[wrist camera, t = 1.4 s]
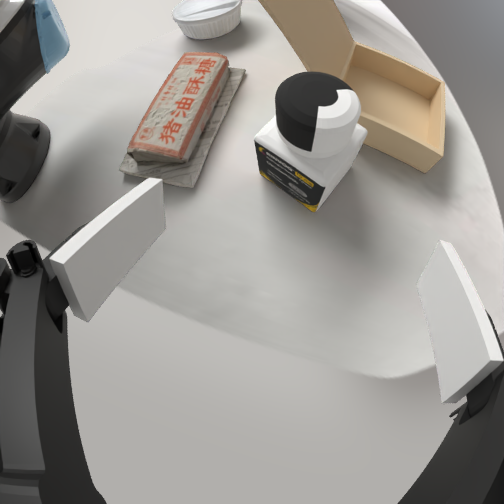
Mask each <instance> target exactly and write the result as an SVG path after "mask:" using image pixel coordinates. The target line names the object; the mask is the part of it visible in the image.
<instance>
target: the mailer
mask: <svg viewBox="0 0 504 504" xmlns="http://www.w3.org/2000/svg"><path fill="white" fill-rule="evenodd" d="M258 1H259V2H260V3H261V4H262V6H263V7H264V8H265V10H266V11H267V12H268V14H269V15H270V16H271V18H272V19H273V20H274V22H275V23H276V24H277V26H278V27H279V29H280V30H281V31H282V33H283V34H284V36H285V37H286V39H287V40H288V42H289V43H290V45H291V46H292V48H293V49H294V51H295V52H296V54H297V55H298V57H299V58H300V60H301V62H302V63H303V65H304V66H305V68H306V70H307V71H308V72H311V71H314V72H323V73H327V74H330V75H333V76H335V77H337V78H339V79H341V80H343V81H344V82H345V83H347V84H348V85H349V86H350V87H351V88H352V89H353V91H354V92H355V93H356V95H357V96H358V98H359V101H360V105H361V114H360V117H359V119H358V122H357V123H358V124H359V125H361V126H362V127H364V128H365V129H366V130H367V132H368V133H367V136H366V138H365V140H364V142H363V144H366V145H368V146H370V147H372V148H375V149H377V150H379V151H381V152H383V153H386V154H388V155H390V156H392V157H394V158H396V159H398V160H400V161H402V162H404V163H406V164H408V165H410V166H412V167H414V168H416V169H418V170H419V171H421V172H423V173H426V172H427V171H429V170H430V169H431V168H432V167H433V166H434V165H435V164H436V163H437V162H438V161H439V160H440V159H441V158H442V157H443V152H444V137H445V82H443V81H441V80H439V79H438V78H436V77H434V76H432V75H430V74H428V73H427V72H425V71H423V70H421V69H419V68H417V67H415V66H413V65H411V64H409V63H407V62H404V61H402V60H400V59H398V58H396V57H393V56H391V55H389V54H386V53H384V52H381V51H379V50H376V49H374V48H371V47H369V46H366V45H363V44H360V43H357V42H355V41H354V40H353V38H352V36H351V34H350V32H349V30H348V28H347V26H346V24H345V22H344V20H343V18H342V16H341V14H340V12H339V10H338V8H337V6H336V5H335V3H334V1H333V0H258Z"/></svg>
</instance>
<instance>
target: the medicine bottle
mask: <svg viewBox="0 0 504 504" xmlns="http://www.w3.org/2000/svg"><path fill="white" fill-rule="evenodd" d="M275 104H276V115H275V116H274V117H273V118H272V119H271V120H270V121H269V122H268V123H267V124H266V125H265V126H264V127H263V128H262V129H261V130H260V131H259V132H258V133H257V134H256V135H255V137H254V141H255V147H256V153H257V160H258V166H259V172H260V174H261V175H262V176H264V177H265V178H267V179H268V180H269V181H271V182H272V183H274V184H275V185H276V186H278V187H279V188H281V189H282V190H283V191H285V192H286V193H288V194H289V195H290V196H292V197H293V198H294V199H296V200H297V201H298V202H300V203H301V204H302V205H304V206H305V207H307V208H308V209H309V210H310V211H312V212H316V211H317V210H318V209H319V208H320V206H321V205H322V204H323V203H324V201H325V200H326V199H327V197H328V196H329V195H330V194H331V192H332V191H333V190H334V188H335V187H336V186H337V184H338V183H339V182H340V181H341V179H342V178H343V177H344V175H345V174H346V173H347V171H348V170H349V169H350V168H351V166H352V164H353V162H354V160H355V158H356V156H357V154H358V152H359V150H360V148H361V146H362V144H363V142H364V140H365V138H366V136H367V133H368V132H367V130H366V129H365V128H364V127H362V126H361V125H359V124H358V123H357V122H358V119H359V117H360V114H361V105H360V101H359V98H358V96H357V95H356V93H355V92H354V91H353V89H352V88H351V87H350V86H349V85H348V84H347V83H345V82H344V81H343V80H341V79H339V78H337V77H335V76H333V75H330V74H327V73H323V72H314V71H311V72H302V73H298V74H295V75H293V76H291V77H289V78H287V79H286V80H285V81H283V82H282V83H281V85H280V86H279V87H278V89H277V92H276V96H275Z"/></svg>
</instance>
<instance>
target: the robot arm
mask: <svg viewBox="0 0 504 504" xmlns="http://www.w3.org/2000/svg"><path fill="white" fill-rule="evenodd" d="M69 47H70V44H69V39H68V36H67V33H66V30H65V28H64V25H63V23H62V20H61V18H60V16H59V14H58V12H57V9H56V7H55V5H54V4H53V2H52V0H0V200H2V201H5V202H7V203H11V202H14V201H16V200H17V199H19V198H20V197H21V196H22V195H23V194H24V193H25V192H26V190H27V189H28V188H29V187H30V185H31V184H32V182H33V181H34V179H35V177H36V176H37V174H38V172H39V170H40V168H41V166H42V164H43V161H44V159H45V156H46V153H47V150H48V146H49V141H50V132H49V129H48V127H47V126H46V125H45V124H44V123H42V122H41V121H40V120H38V119H35V118H31V117H27V116H23V115H19V114H14V113H12V112H11V111H10V108H11V107H12V106H13V105H14V104H15V103H16V102H17V101H18V100H19V99H20V98H21V97H22V96H23V94H24V93H26V91H28V90H29V89H30V88H31V87H32V86H33V85H34V84H35V83H36V82H37V81H38V80H39V79H40V78H41V77H42V76H43V75H45V74H46V73H47V74H48V73H49V72H50V70H51V68H53V67H54V66H55V65H56V64H57V63H58V62H59V61H61V60H62V59H63V58H64V57H65V56H66V54H67V53H68V51H69ZM165 229H166V225H165V212H164V196H163V179H156V178H148V179H146V180H145V181H144V182H142V183H141V184H139V185H138V186H136V187H135V188H134V189H132V190H131V191H130V192H128V193H127V194H125V195H124V196H123V197H121V198H120V199H119V200H117V201H116V202H115V203H114V204H112V205H111V206H110V207H108V208H107V209H106V210H105V211H103V212H102V213H101V214H99V215H98V216H97V217H96V218H95V219H93V220H92V221H91V222H89V223H87V224H85V225H83V226H81V227H79V228H78V229H77V230H76V231H75V232H74V233H72V235H70V236H69V237H68V238H67V239H65V241H63V242H62V243H61V244H60V245H59V246H58V247H57V248H55V249H54V250H53V251H52V252H51V253H50V254H49V255H48V256H47V257H46V258H45V259H44V260H43V261H42V259H41V256H40V253H39V251H38V248H37V245H36V243H35V242H34V241H32V240H26V241H22V242H20V243H18V244H16V245H15V246H13V247H12V248H11V249H10V250H9V252H8V253H7V255H6V256H7V259H8V261H9V263H10V265H11V268H12V269H10V268H9V266H8V264H7V262H6V260H5V259H4V258H0V309H1V311H2V312H3V314H2V316H1V317H0V504H106V501H105V500H104V498H103V497H102V495H101V494H100V493H99V492H98V491H97V490H96V488H95V486H94V484H93V482H92V479H91V476H90V472H89V469H88V466H87V462H86V459H85V455H84V451H83V447H82V443H81V438H80V435H79V430H78V424H77V419H76V414H75V408H74V402H73V394H72V387H71V378H70V368H69V356H68V335H67V314H66V312H65V309H66V308H67V307H68V306H70V308H71V310H72V312H73V314H74V315H75V316H76V317H78V318H80V319H82V320H85V321H86V322H89V321H90V320H91V318H92V317H93V316H94V314H95V313H96V311H97V310H98V309H99V308H100V306H101V305H102V304H103V303H104V301H105V300H106V299H107V297H108V296H109V295H110V294H111V292H112V291H113V290H114V289H115V287H116V286H117V285H118V284H119V283H120V281H121V280H122V279H123V278H124V276H125V275H126V274H127V273H128V272H129V270H130V269H131V268H132V267H133V266H134V265H135V263H136V262H137V261H138V260H139V259H140V257H141V256H142V255H143V254H144V253H145V252H146V251H147V249H148V248H149V247H150V246H151V245H152V244H153V243H154V242H155V240H156V239H157V238H158V237H159V236H160V235H161V234H162V233H163V231H164V230H165ZM416 286H417V289H418V292H419V296H420V299H421V303H422V306H423V310H424V314H425V317H426V321H427V325H428V329H429V334H430V338H431V342H432V347H433V352H434V357H435V362H436V367H437V373H438V379H439V386H440V393H441V400H442V403H457V402H458V401H459V400H460V399H461V398H463V397H464V396H465V395H466V396H467V402H466V403H465V404H463V405H462V406H461V407H459V408H458V409H457V410H455V411H454V412H452V413H451V415H450V416H449V417H452V416H454V415H455V414H457V413H458V415H457V417H456V418H455V419H453V420H454V423H453V424H452V426H451V428H450V430H449V431H448V433H447V435H446V437H445V438H444V440H443V442H442V443H441V445H440V447H439V448H438V450H437V451H436V453H435V454H434V456H433V458H432V459H431V461H430V462H429V464H428V465H427V467H426V468H425V469H424V471H423V472H422V474H421V475H420V476H419V478H418V479H417V480H416V482H415V483H414V484H413V485H412V487H411V488H410V489H409V490H408V492H407V493H406V494H405V495H404V497H403V498H402V499H401V500H400V501H399V502H398V504H504V352H503V348H502V346H501V343H500V340H499V338H498V334H497V332H496V330H495V326H494V324H493V321H492V319H491V317H490V316H489V314H488V313H487V311H486V310H485V308H484V306H483V304H482V302H481V299H480V297H479V295H478V293H477V291H476V289H475V287H474V285H473V283H472V281H471V279H470V277H469V275H468V273H467V271H466V269H465V267H464V265H463V263H462V261H461V260H460V258H459V256H458V254H457V252H456V251H455V249H454V247H453V246H452V244H451V243H448V242H445V241H442V240H439V241H438V243H437V245H436V247H435V250H434V252H433V254H432V256H431V258H430V259H429V261H428V263H427V265H426V267H425V269H424V271H423V273H422V275H421V276H420V278H419V280H418V282H417V284H416Z"/></svg>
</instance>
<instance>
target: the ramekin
mask: <svg viewBox="0 0 504 504" xmlns="http://www.w3.org/2000/svg"><path fill="white" fill-rule="evenodd" d="M241 5H242V0H183V1H182V2H180V3H179V4H178V5H177V6H176V7H175V8H174V9H173V11H172V17H173V20H174V21H175V22H177V24H178V26H179V27H180V28H181V30H182V32H183V33H184V34H185V35H186V36H188V37H190V38H193V39H212V38H216V37H220V36H223V35H225V34H227V33H229V32H231V31H232V30H234V29H235V28H236V27H237V25H238V24H239V22H240V16H241Z"/></svg>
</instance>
